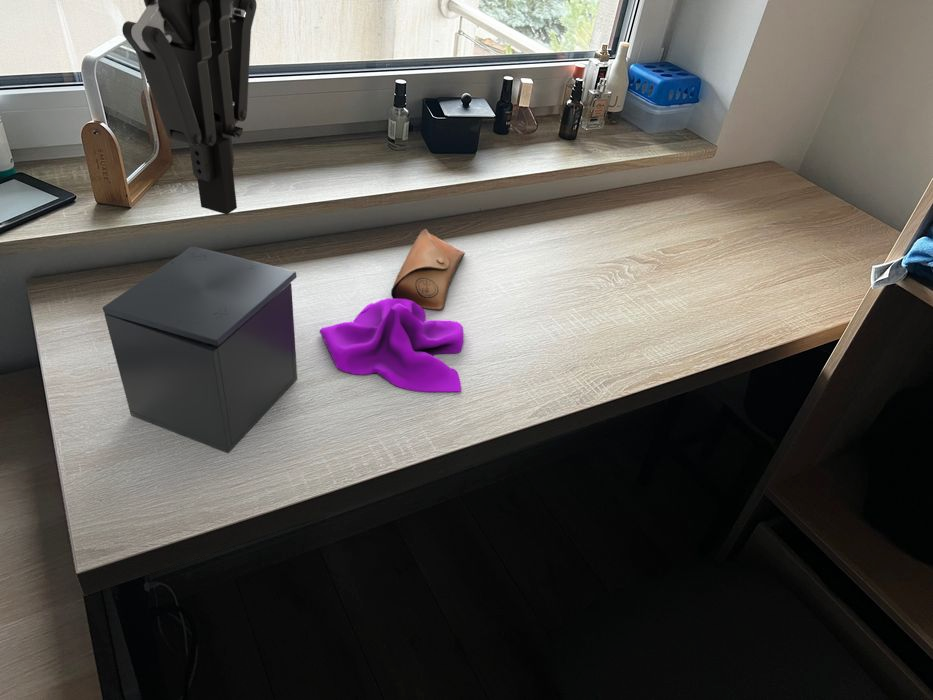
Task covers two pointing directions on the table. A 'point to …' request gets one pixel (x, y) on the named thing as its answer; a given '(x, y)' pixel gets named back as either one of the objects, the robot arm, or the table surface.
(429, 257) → the sunglasses case
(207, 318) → the lid
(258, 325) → the dark grey open box
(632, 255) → the table surface
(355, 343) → the cloth
